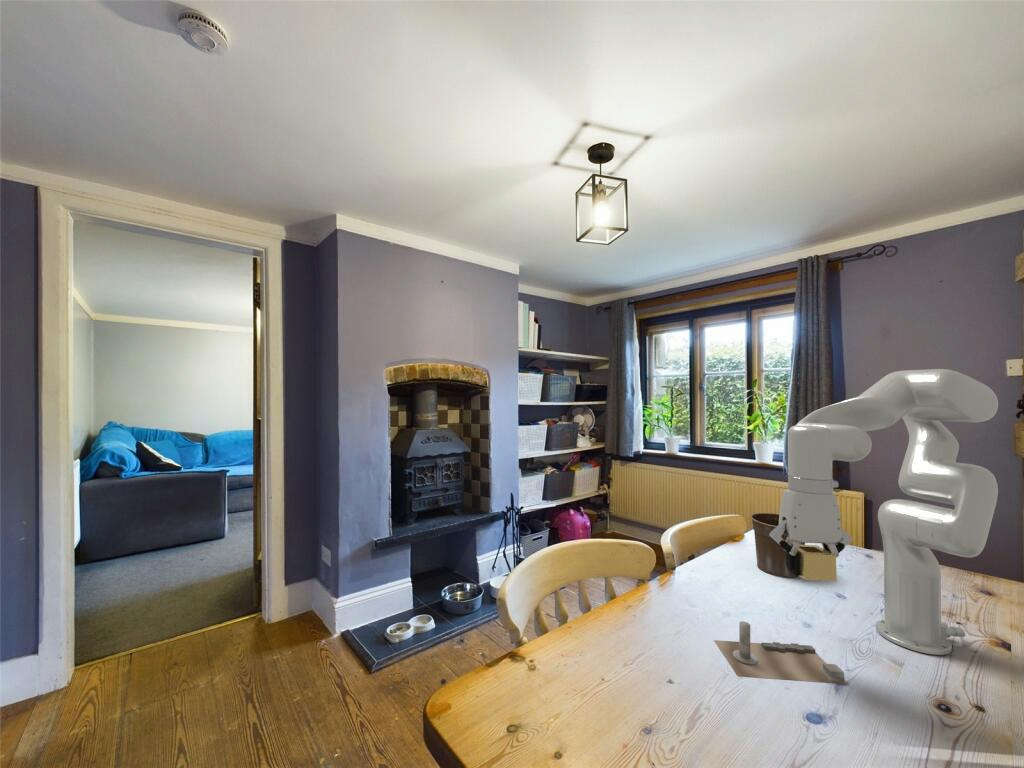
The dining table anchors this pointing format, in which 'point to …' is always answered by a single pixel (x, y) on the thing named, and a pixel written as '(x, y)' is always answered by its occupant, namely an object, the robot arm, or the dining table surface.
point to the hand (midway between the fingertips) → (810, 572)
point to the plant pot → (769, 545)
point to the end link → (816, 563)
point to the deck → (777, 660)
